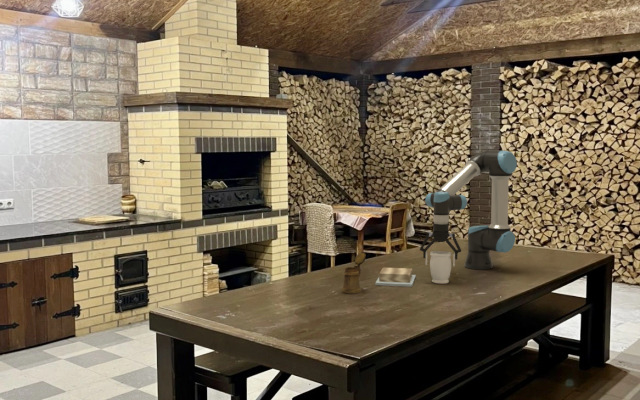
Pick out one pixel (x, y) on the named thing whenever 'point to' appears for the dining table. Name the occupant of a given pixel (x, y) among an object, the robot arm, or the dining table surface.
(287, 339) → the dining table surface
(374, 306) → the dining table surface
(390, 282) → the board
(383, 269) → the tan flat block
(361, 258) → the wooden mug
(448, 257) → the jar
